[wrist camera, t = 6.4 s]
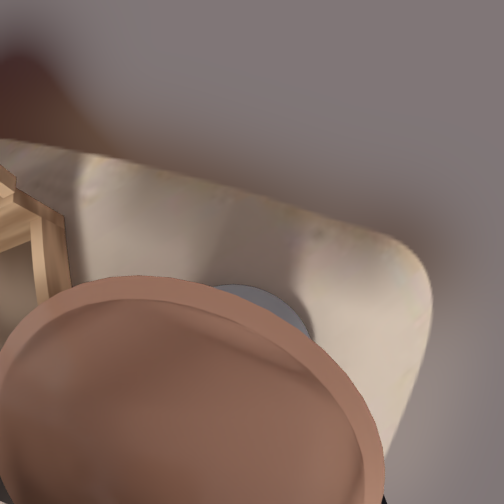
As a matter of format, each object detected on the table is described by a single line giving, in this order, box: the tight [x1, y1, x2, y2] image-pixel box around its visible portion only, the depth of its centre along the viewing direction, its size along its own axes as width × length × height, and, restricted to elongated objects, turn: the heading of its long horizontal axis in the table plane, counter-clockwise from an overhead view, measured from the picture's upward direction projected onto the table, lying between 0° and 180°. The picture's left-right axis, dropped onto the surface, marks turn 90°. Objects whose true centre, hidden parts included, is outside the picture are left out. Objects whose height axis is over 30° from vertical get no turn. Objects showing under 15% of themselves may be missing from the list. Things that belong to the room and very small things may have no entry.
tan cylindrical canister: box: [0, 275, 385, 504], centre depth 10 cm, size 7×7×14 cm
